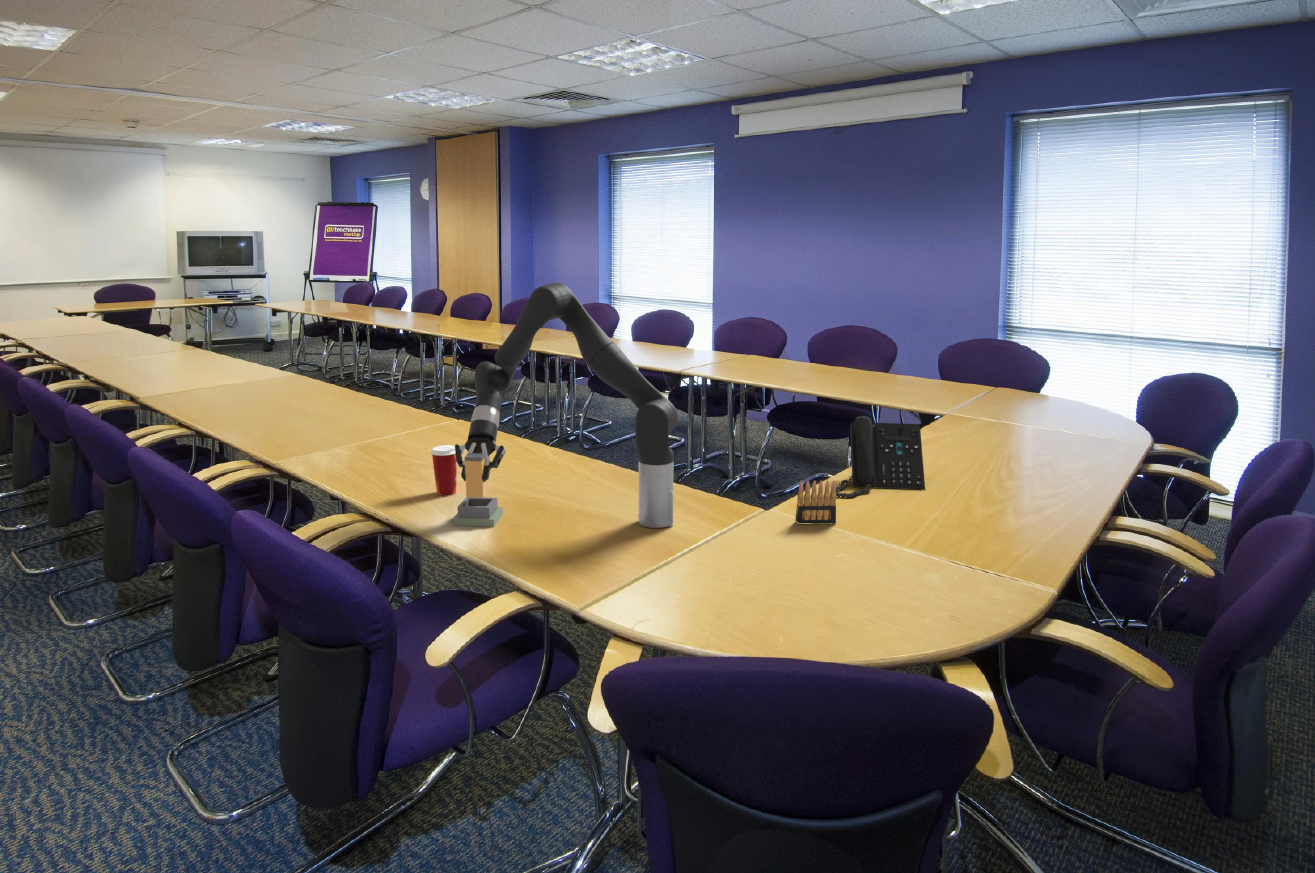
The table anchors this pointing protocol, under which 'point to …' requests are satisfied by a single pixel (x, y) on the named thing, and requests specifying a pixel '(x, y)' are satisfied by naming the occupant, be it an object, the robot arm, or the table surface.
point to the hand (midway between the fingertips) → (474, 479)
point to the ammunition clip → (816, 504)
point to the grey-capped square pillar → (475, 475)
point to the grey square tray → (478, 512)
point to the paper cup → (445, 469)
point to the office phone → (884, 456)
